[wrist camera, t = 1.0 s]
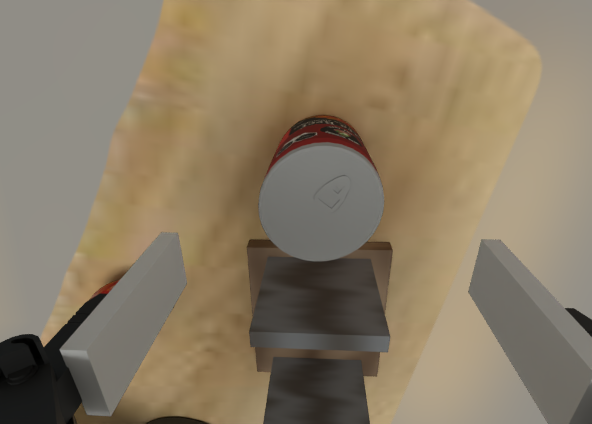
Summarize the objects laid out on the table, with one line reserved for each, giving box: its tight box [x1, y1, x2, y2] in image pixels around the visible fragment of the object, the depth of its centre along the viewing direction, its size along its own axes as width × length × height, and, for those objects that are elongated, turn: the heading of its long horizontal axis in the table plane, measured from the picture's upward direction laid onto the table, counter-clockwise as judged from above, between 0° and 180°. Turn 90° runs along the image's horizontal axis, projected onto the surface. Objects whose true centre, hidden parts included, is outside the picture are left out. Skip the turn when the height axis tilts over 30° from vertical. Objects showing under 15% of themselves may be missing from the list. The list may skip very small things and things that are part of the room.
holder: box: [247, 240, 393, 424], centre depth 33 cm, size 14×17×12 cm
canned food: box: [258, 115, 384, 261], centre depth 26 cm, size 8×8×11 cm
